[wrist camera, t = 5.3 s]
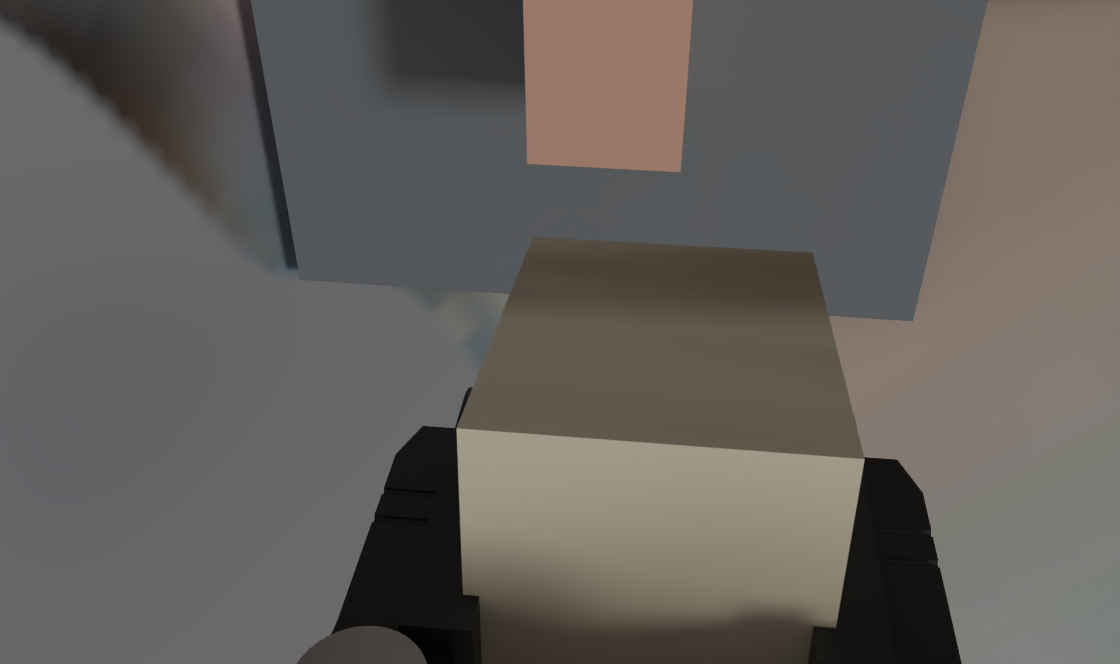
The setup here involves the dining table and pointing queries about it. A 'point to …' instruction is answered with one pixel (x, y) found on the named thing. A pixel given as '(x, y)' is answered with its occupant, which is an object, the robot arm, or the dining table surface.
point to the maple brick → (658, 459)
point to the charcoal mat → (604, 193)
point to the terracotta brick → (606, 82)
